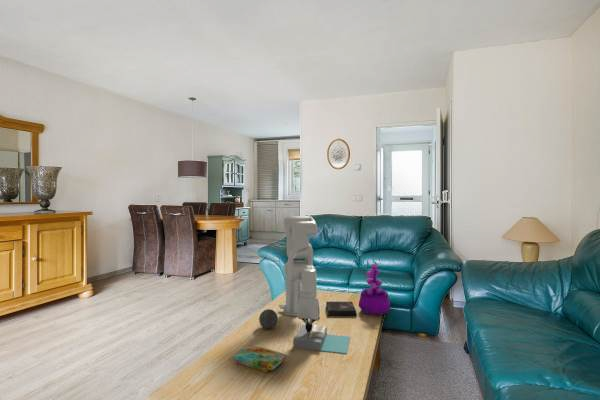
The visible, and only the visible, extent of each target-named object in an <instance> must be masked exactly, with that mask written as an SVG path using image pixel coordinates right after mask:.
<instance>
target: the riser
mask: <svg viewBox="0 0 600 400" xmlns="http://www.w3.org/2000/svg"><path fill="white" fill-rule="evenodd" d="M313 326H314V325H312V328H313ZM311 331H312V330H311ZM311 331H310V333H309V332H307V330H306V324H301V327H300V328H299V330H298V331H297V333H296V335H294V337H293V340H292V341H293V343H292V345H293V346H292V348H294V349H299V350H300V349H301V350H309V351H317V352H322V351H321V348H322V345H323V343H324V340H325V338H326V335H327V334H328V326H326V332H325V335H324V338H322V337H312V336H311Z"/></svg>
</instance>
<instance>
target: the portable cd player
mask: <svg viewBox="0 0 600 400" xmlns="http://www.w3.org/2000/svg"><path fill="white" fill-rule="evenodd" d="M325 306H326V313H327V317H338V318H340V317H341V318H344V317H345V318H346V317H350V318H351V317H353V318H354V317H357V316H358V313H357V310H356V308H355V305H354V302H353V301H326V304H325Z"/></svg>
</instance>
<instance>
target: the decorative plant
mask: <svg viewBox="0 0 600 400" xmlns="http://www.w3.org/2000/svg"><path fill="white" fill-rule="evenodd" d="M370 267H371V269H370V270H367V271H366V273H365V275H366V277H367V279H366V283H367V285H369V286H370V288H365V289H362V290H361V291H360V296H359V297H360V298H359V301H358V307H359V309H360V310H361V311H362V312H364V313H366V314H369V315H375V316H376V315H377V316H378V315H384V314H387V313H388V312H389V311H390V310H391V303H390V300H389V293H388V291H386V290H383V289H382V287H381V286H382V285H383V281H382V280H381V279H377V275H379V273H380V272H379V269H378V268H379V267H378V264H376V263H372V264H371V266H370Z"/></svg>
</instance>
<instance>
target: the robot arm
mask: <svg viewBox="0 0 600 400" xmlns="http://www.w3.org/2000/svg"><path fill="white" fill-rule="evenodd" d="M282 226H283V229H284V232H285V236H286V256H287V257H288V259H287V262H285V263H284V267H283V268H284V269H283V271H284V277H285V278H284V279H285V303H284V304H279V306H278V308H279V310H280V309H281V310H282V313H283V315H286V316H288V317H297V319H298V320H302V322H304V325H306V330H307V332H309V333H310V331H311V330H312V326H313V323H314V322H319V321H320V320H321V319H320V302H319V297H318V295H317V293H318V290H317V286H318V285H317V284H318V283H317V277H318V276H317V269H316V267H315V266H314V250H313V246H312V244H311V243H310V239H309V237H316V236H317V235H318V233H319V229H318V225H317V222H316V220H315V219H314V218H313V217H312V216H311V215H291V216H286V217H284V218H283V225H282ZM302 259H303V260H302Z"/></svg>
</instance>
